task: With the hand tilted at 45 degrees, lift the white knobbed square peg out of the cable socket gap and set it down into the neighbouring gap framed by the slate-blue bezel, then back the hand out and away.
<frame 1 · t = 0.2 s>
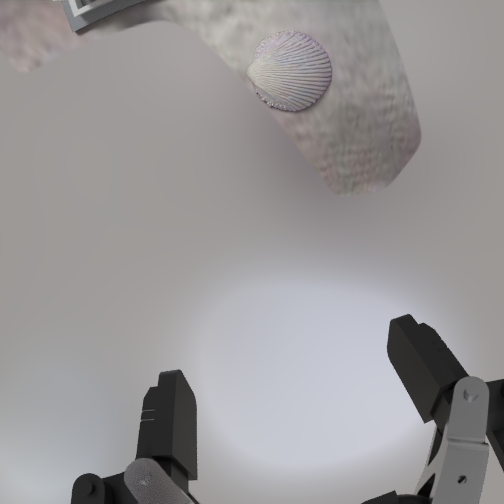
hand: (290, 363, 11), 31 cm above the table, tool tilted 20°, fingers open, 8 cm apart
seashell: (288, 70, 32), on the table
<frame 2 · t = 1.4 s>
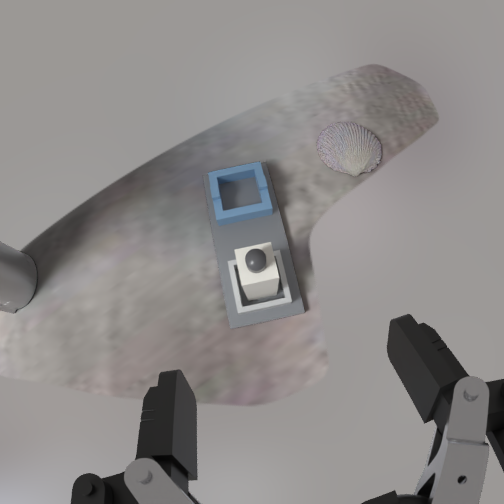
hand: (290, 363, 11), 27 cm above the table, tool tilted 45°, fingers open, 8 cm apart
cable socket: (249, 240, 41), on the table
seashell: (349, 150, 44), on the table
white knobbed square peg: (259, 284, 38), point 1 cm above the table, touching cable socket
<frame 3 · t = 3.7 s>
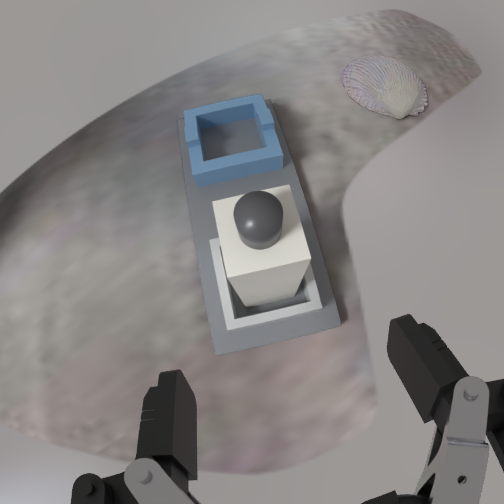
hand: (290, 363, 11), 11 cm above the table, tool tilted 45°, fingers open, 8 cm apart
cable socket: (247, 208, 25), on the table
seashell: (385, 90, 29), on the table
white knobbed square peg: (264, 279, 22), point 1 cm above the table, touching cable socket
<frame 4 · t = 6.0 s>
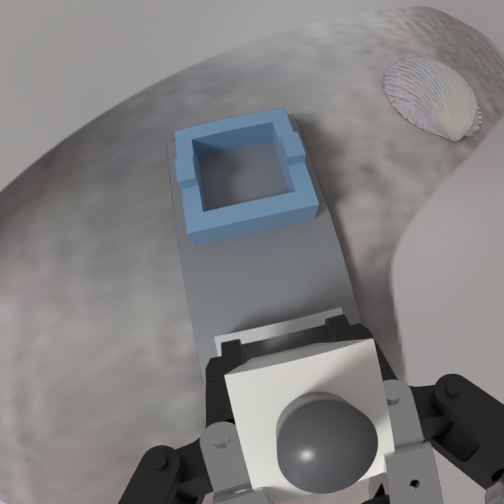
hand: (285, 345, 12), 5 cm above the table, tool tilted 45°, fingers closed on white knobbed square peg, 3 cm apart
cable socket: (265, 277, 18), on the table
seashell: (432, 102, 22), on the table
white knobbed square peg: (290, 381, 16), point 1 cm above the table, touching cable socket, gripper
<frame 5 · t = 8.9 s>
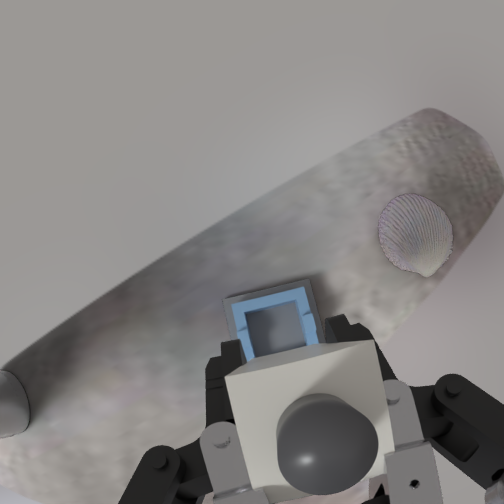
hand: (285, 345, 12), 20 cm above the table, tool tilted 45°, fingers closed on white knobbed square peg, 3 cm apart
cable socket: (290, 389, 29), on the table
seashell: (415, 236, 33), on the table
white knobbed square peg: (290, 381, 16), point 15 cm above the table, touching gripper
when the fingers open (7 cm above the table, at t = 12.0 s): white knobbed square peg drops 2 cm, resting on cable socket.
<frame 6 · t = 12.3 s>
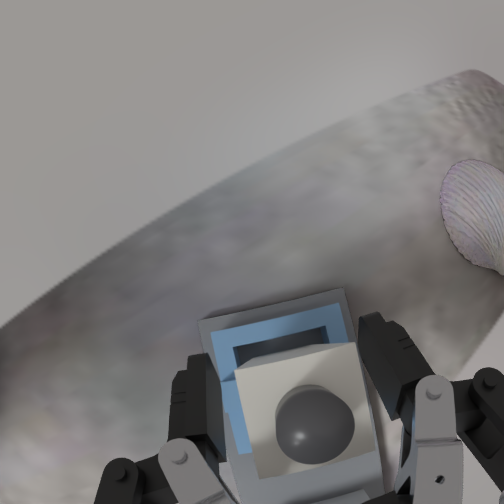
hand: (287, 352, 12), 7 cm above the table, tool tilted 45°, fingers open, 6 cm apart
cable socket: (306, 462, 16), on the table
seashell: (484, 218, 21), on the table
white knobbed square peg: (288, 378, 17), point 1 cm above the table, touching cable socket
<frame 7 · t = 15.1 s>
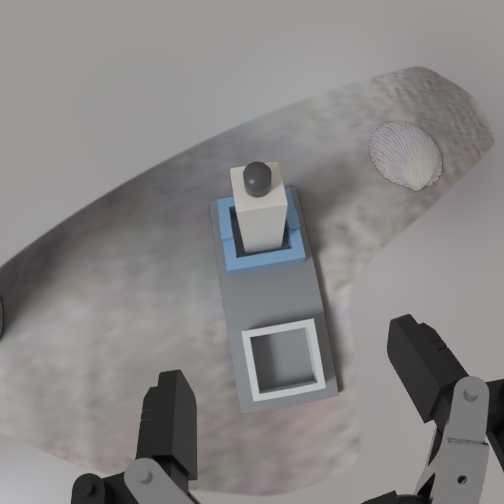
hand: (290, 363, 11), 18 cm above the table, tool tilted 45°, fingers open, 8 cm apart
cable socket: (271, 296, 30), on the table
seashell: (405, 157, 34), on the table
white knobbed square peg: (260, 234, 31), point 1 cm above the table, touching cable socket
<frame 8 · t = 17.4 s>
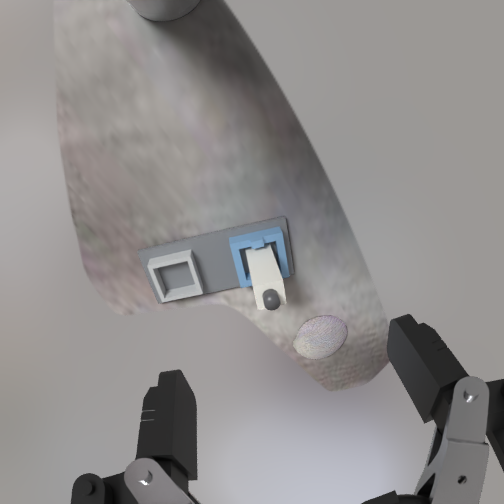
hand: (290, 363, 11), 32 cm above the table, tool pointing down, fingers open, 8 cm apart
cable socket: (217, 261, 45), on the table
seashell: (319, 335, 55), on the table
white knobbed square peg: (258, 254, 44), point 1 cm above the table, touching cable socket
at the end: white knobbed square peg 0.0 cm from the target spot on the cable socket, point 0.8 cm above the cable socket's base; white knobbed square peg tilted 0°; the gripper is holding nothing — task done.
